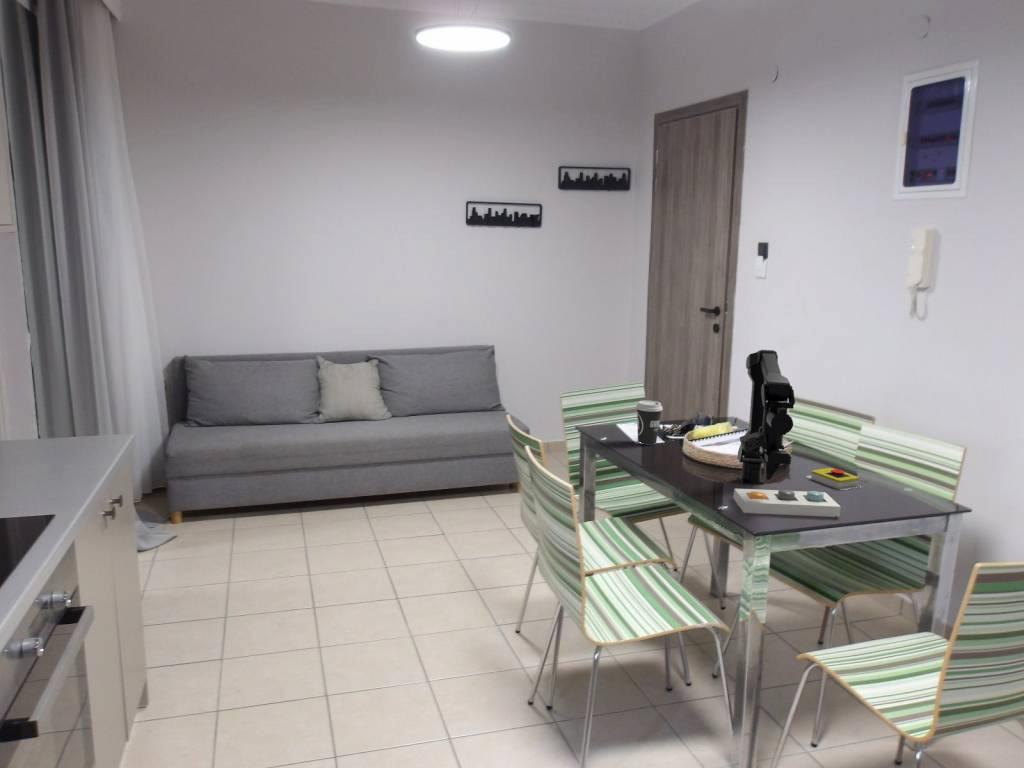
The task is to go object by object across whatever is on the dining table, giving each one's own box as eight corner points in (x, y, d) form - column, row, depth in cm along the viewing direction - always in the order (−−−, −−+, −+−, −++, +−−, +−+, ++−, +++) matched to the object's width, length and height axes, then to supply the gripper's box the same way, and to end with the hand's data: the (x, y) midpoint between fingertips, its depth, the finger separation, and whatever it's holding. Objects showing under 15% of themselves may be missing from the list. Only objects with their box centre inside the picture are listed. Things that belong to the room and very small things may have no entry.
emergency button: (844, 478, 240) (805, 465, 253) (842, 492, 241) (804, 478, 254) (865, 475, 245) (826, 462, 258) (863, 488, 245) (824, 475, 258)
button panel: (733, 498, 231) (734, 488, 230) (824, 502, 230) (825, 492, 229) (743, 512, 219) (744, 502, 218) (839, 517, 218) (840, 506, 217)
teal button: (804, 499, 226) (804, 490, 225) (819, 499, 226) (820, 491, 225) (809, 504, 222) (810, 495, 221) (825, 504, 221) (826, 496, 221)
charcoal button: (775, 497, 226) (776, 489, 226) (791, 498, 226) (792, 490, 226) (780, 503, 222) (781, 494, 221) (796, 503, 222) (796, 495, 221)
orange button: (746, 499, 227) (747, 491, 226) (762, 500, 226) (763, 491, 226) (750, 504, 222) (751, 496, 222) (766, 505, 222) (767, 496, 222)
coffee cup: (645, 448, 282) (647, 406, 279) (628, 441, 290) (630, 401, 287) (665, 445, 286) (668, 404, 283) (648, 438, 294) (651, 399, 292)
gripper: (736, 416, 229) (731, 468, 232) (751, 432, 211) (746, 488, 214) (775, 418, 229) (770, 470, 232) (794, 434, 211) (788, 490, 214)
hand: (767, 479), depth 223 cm, fingers closed
